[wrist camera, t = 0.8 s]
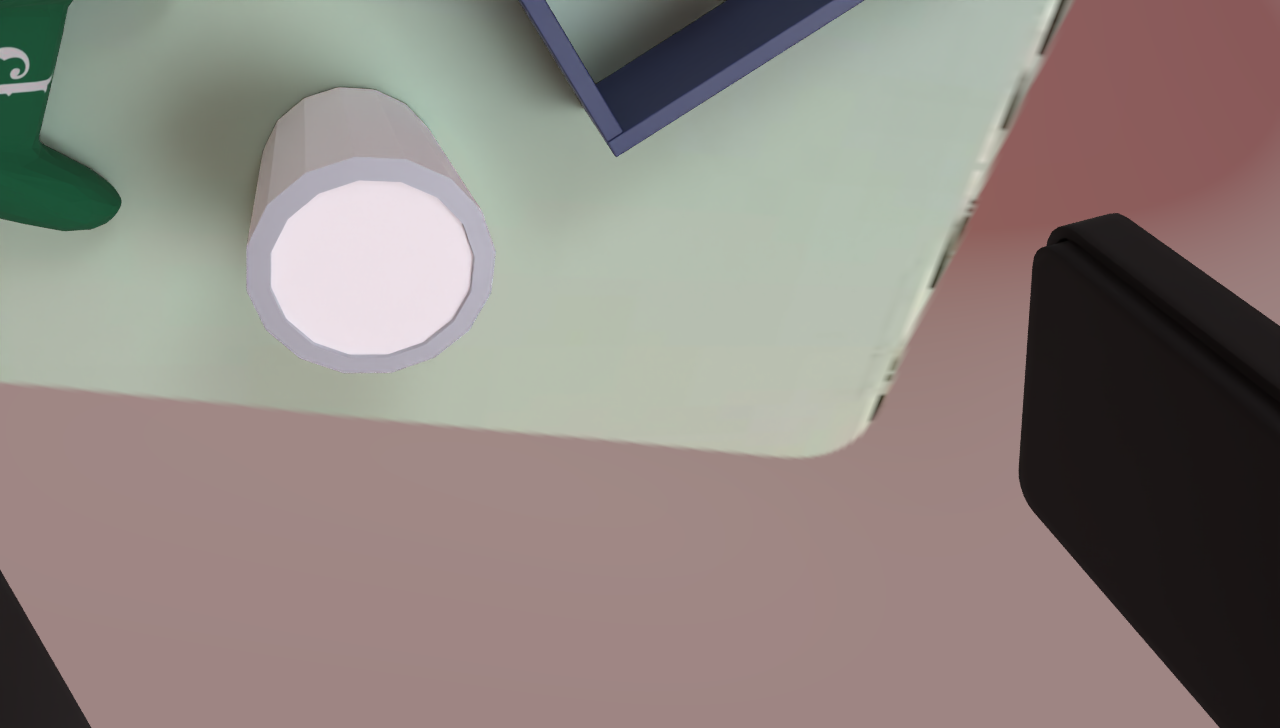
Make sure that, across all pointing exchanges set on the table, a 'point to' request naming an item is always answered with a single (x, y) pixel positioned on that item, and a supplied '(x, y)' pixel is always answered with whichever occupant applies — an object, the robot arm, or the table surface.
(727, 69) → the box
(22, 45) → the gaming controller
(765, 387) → the table surface
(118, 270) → the table surface
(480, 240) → the white cup
